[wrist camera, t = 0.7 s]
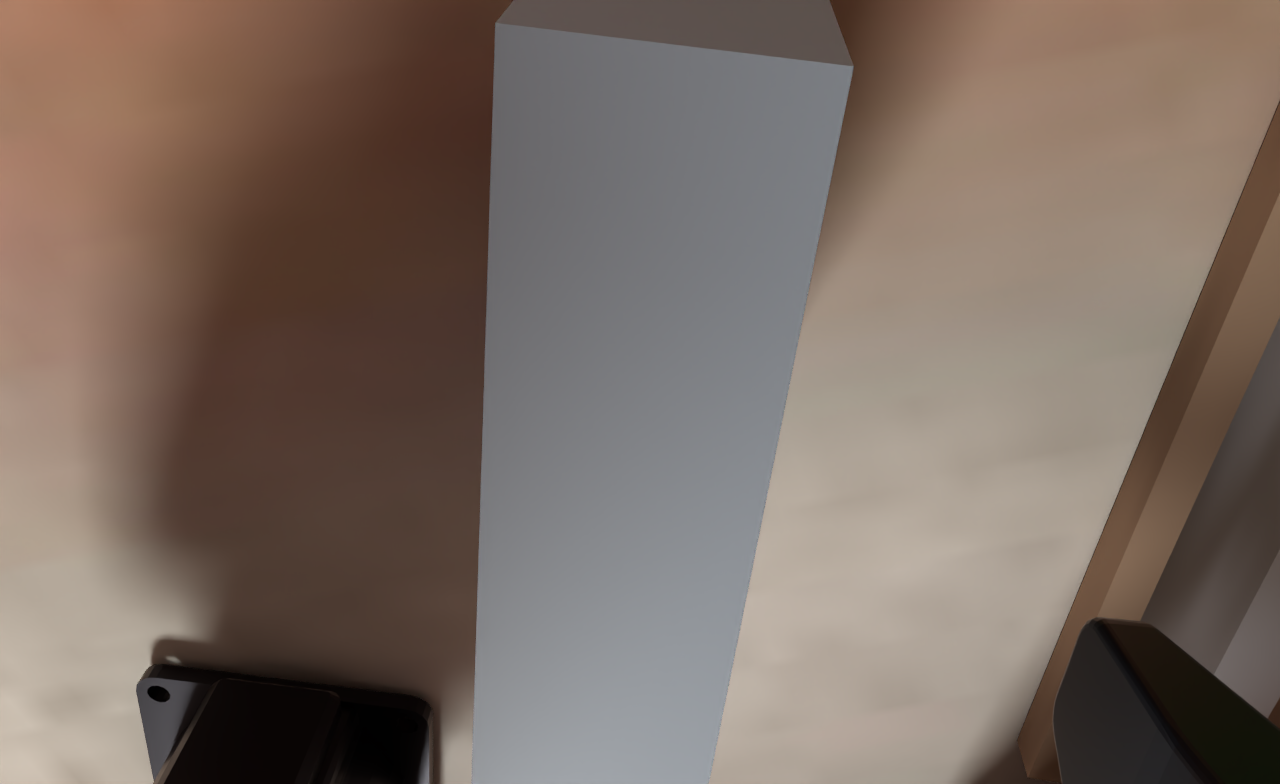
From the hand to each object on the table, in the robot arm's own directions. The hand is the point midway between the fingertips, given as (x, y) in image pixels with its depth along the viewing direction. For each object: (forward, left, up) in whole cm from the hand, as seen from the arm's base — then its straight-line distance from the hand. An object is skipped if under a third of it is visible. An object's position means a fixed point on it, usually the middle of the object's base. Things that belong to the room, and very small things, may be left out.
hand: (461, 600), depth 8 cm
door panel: (-1, -1, -11) cm, 11 cm away
